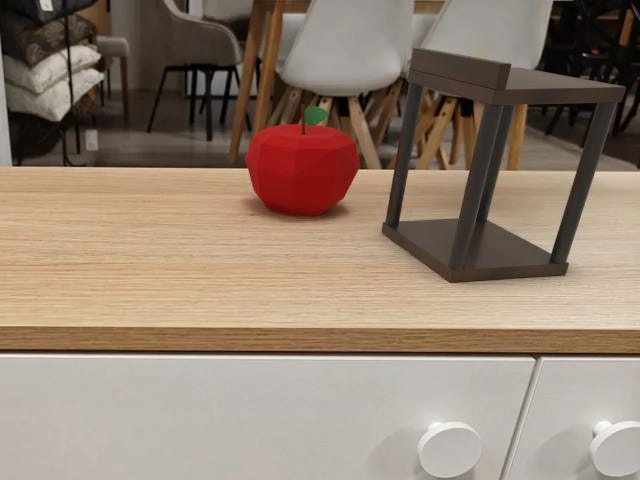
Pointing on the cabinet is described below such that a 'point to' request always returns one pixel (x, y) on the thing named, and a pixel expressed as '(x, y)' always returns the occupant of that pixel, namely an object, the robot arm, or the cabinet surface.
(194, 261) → the cabinet surface
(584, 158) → the rack
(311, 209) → the apple
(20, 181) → the cabinet surface
